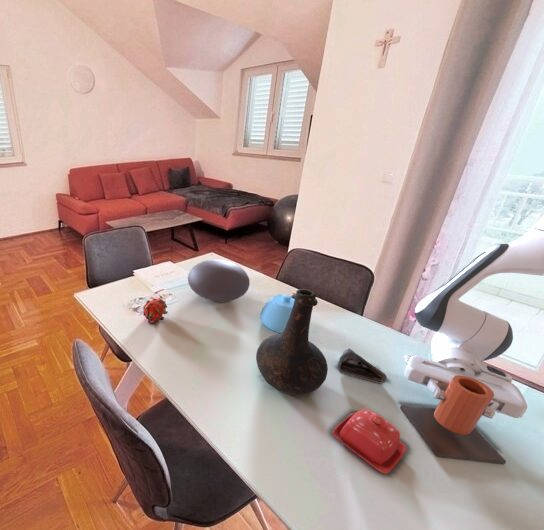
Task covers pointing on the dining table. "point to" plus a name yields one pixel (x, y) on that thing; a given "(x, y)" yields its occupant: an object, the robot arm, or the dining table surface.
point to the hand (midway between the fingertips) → (463, 405)
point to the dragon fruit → (154, 309)
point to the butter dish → (371, 439)
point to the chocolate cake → (359, 367)
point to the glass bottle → (293, 352)
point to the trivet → (450, 438)
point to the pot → (463, 404)
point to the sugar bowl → (277, 312)
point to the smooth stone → (218, 280)
